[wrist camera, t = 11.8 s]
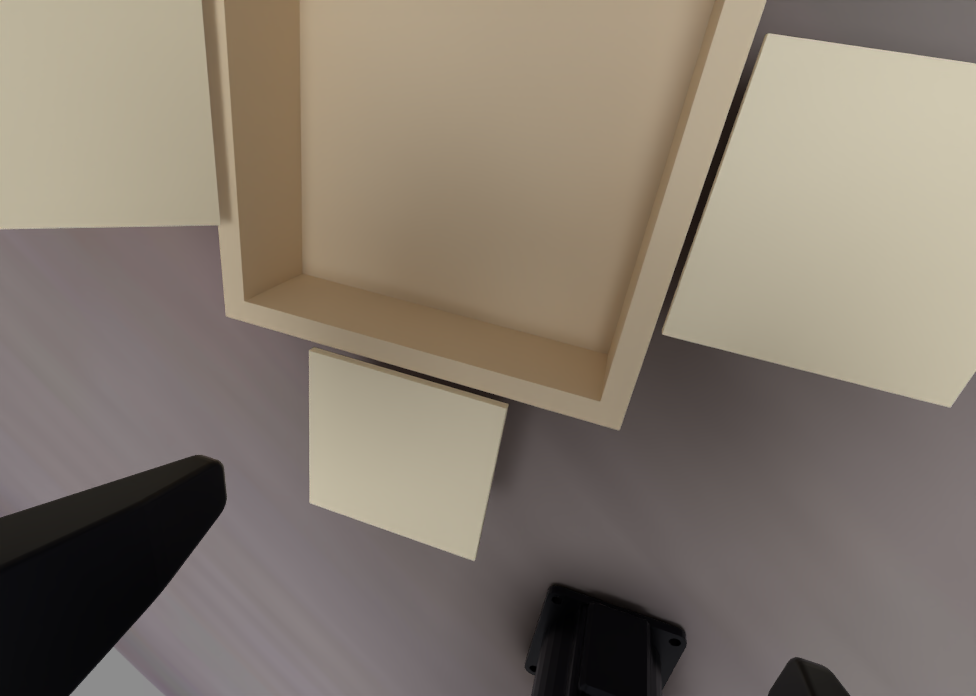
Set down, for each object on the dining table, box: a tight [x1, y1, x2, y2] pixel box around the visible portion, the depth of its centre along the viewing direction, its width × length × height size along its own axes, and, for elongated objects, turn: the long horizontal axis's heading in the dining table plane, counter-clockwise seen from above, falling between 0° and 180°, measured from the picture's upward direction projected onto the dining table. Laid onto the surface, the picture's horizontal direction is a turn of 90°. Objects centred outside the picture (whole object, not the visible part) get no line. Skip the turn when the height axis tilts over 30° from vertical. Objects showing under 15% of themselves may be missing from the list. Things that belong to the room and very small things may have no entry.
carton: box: [201, 0, 976, 561], centre depth 16 cm, size 21×21×4 cm
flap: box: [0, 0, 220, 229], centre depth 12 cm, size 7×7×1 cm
